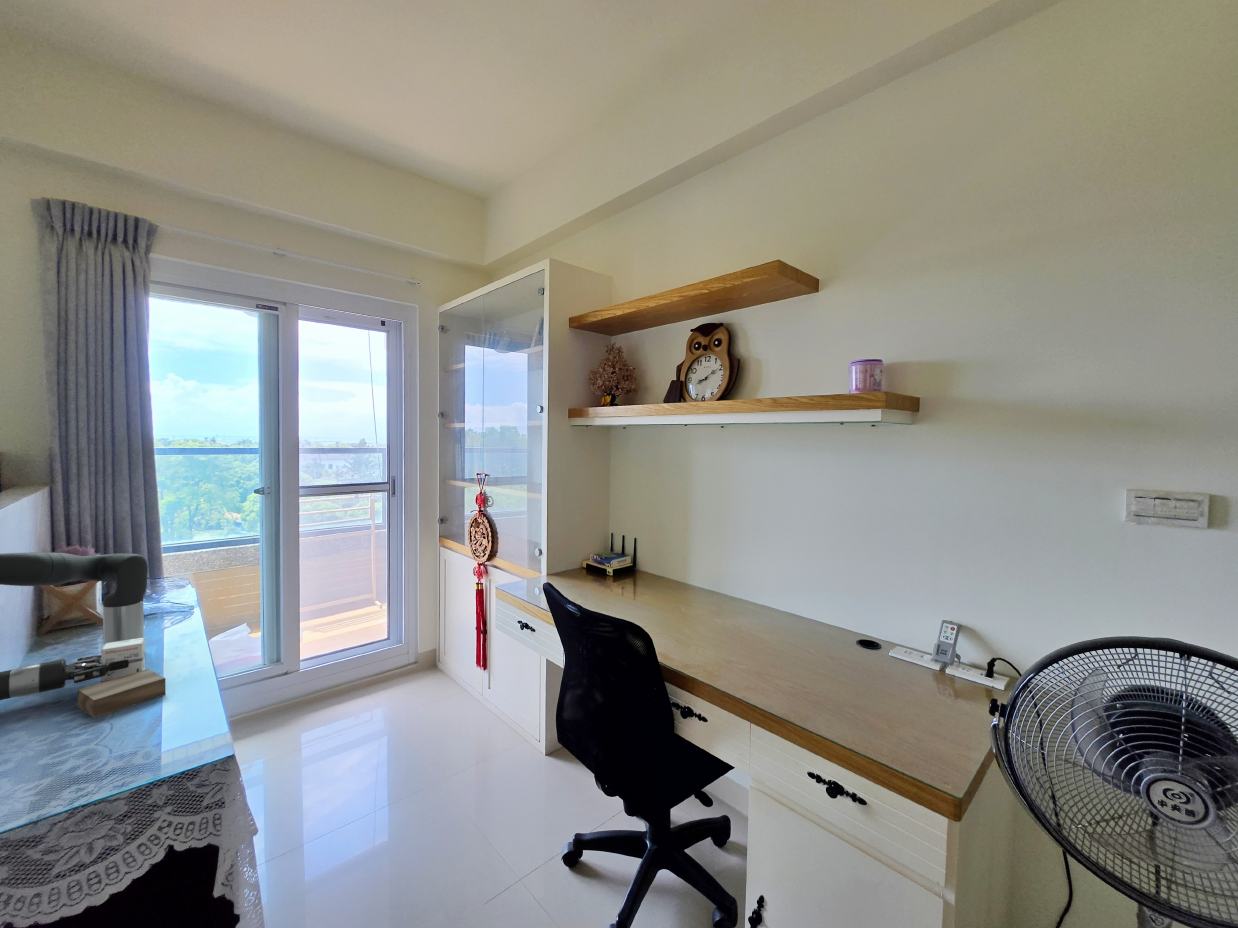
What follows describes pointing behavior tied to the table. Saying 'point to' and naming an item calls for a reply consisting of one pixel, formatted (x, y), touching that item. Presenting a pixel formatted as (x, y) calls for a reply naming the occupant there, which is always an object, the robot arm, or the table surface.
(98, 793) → the table surface
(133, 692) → the walnut block
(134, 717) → the table surface
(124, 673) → the ink box
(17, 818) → the table surface
